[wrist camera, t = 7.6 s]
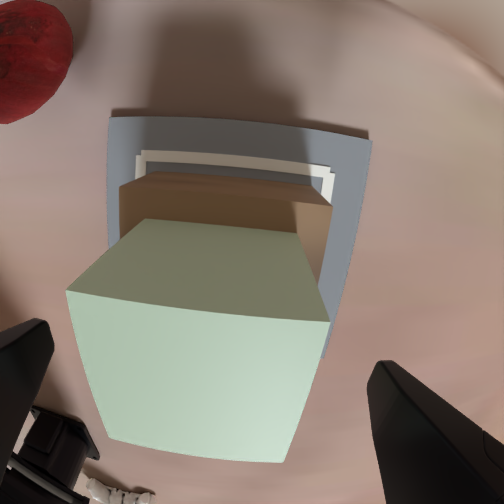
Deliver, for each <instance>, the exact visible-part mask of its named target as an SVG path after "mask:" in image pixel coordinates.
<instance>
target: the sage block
mask: <svg viewBox="0 0 504 504" xmlns="http://www.w3.org/2000/svg"><path fill="white" fill-rule="evenodd" d="M65 291H66V296H67V301H68V306H69V311H70V316H71V320H72V324H73V329H74V333H75V337H76V341H77V344H78V348H79V352H80V355H81V359H82V362H83V366H84V369H85V372H86V376H87V379H88V382H89V385H90V388H91V391H92V394H93V397H94V400H95V402H96V405H97V408H98V411H99V413H100V416H101V419H102V421H103V424H104V426H105V429H106V431H107V434H108V436H109V438H111V439H115V440H119V441H123V442H126V443H130V444H135V445H139V446H143V447H148V448H153V449H157V450H162V451H168V452H173V453H179V454H185V455H192V456H199V457H207V458H215V459H225V460H237V461H251V462H281V463H283V462H284V459H285V457H286V454H287V452H288V449H289V447H290V444H291V441H292V439H293V436H294V433H295V431H296V428H297V425H298V423H299V420H300V417H301V414H302V412H303V409H304V406H305V403H306V400H307V397H308V394H309V391H310V388H311V385H312V382H313V379H314V376H315V373H316V370H317V367H318V363H319V360H320V357H321V354H322V350H323V347H324V344H325V340H326V337H327V333H328V330H329V326H330V323H331V322H330V319H329V316H328V313H327V311H326V308H325V305H324V302H323V300H322V297H321V294H320V291H319V289H318V286H317V283H316V281H315V278H314V275H313V273H312V270H311V267H310V265H309V262H308V260H307V257H306V254H305V252H304V249H303V247H302V244H301V242H300V239H299V237H298V234H297V233H290V232H281V231H272V230H262V229H253V228H243V227H233V226H223V225H213V224H202V223H191V222H180V221H169V220H157V219H146V218H145V219H144V220H143V221H141V222H140V223H139V224H138V225H137V226H135V227H134V228H133V229H132V230H131V231H130V232H128V233H127V234H126V235H125V236H124V237H123V238H121V239H120V240H119V241H118V242H117V243H116V244H114V245H113V246H112V247H111V248H110V249H109V250H108V251H107V252H105V253H104V254H103V255H102V256H101V257H100V258H99V259H98V260H97V261H95V262H94V263H93V264H92V265H91V266H90V267H89V268H88V269H87V270H86V271H85V272H84V273H83V274H81V275H80V276H79V277H78V278H77V279H76V280H75V281H74V282H73V283H72V284H71V285H70V286H69V287H68V288H67V289H66V290H65Z"/></svg>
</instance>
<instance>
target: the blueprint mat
mask: <svg viewBox="0 0 504 504" xmlns="http://www.w3.org/2000/svg"><path fill="white" fill-rule="evenodd" d="M371 148H372V141H371V140H367V139H362V138H357V137H353V136H348V135H342V134H337V133H332V132H326V131H320V130H314V129H308V128H301V127H294V126H287V125H279V124H271V123H262V122H253V121H242V120H231V119H217V118H199V117H165V116H140V117H109V128H108V147H107V224H108V243H109V249H110V248H111V247H112V246H113V245H114V244H116V243H117V242H118V241H119V240H120V232H119V186H121V185H124V184H126V183H128V182H131V181H133V180H135V179H138V178H140V177H142V176H145V175H147V174H150V173H152V172H154V171H162V172H179V173H194V174H207V175H219V176H231V177H241V178H251V179H260V180H269V181H278V182H286V183H294V184H302V185H309V186H313V187H314V188H315V189H316V190H317V191H318V192H319V193H320V194H321V195H322V196H323V197H324V198H325V199H326V200H327V201H328V202H329V203H330V204H331V205H332V206H333V211H332V217H331V222H330V228H329V233H328V238H327V243H326V249H325V254H324V259H323V264H322V268H321V273H320V278H319V282H318V289H319V291H320V294H321V297H322V300H323V302H324V305H325V308H326V311H327V313H328V316H329V319H330V322H331V323H330V326H329V330H328V333H327V337H326V340H325V344H324V347H323V350H322V354H321V357H320V358H324V355H325V352H326V349H327V346H328V342H329V339H330V336H331V332H332V329H333V325H334V322H335V318H336V315H337V311H338V307H339V304H340V300H341V296H342V292H343V288H344V284H345V280H346V276H347V272H348V268H349V264H350V260H351V255H352V251H353V247H354V242H355V237H356V233H357V228H358V223H359V218H360V213H361V208H362V203H363V197H364V192H365V186H366V180H367V174H368V168H369V161H370V155H371Z"/></svg>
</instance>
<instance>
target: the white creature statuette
mask: <svg viewBox="0 0 504 504" xmlns="http://www.w3.org/2000/svg"><path fill="white" fill-rule="evenodd" d="M86 487H87V489H88V490H89V491H90V493H91V495H92V497H93V498H94V499H96V500H97V501H99V502H101V503H103V504H156V503H157V499H156V497H155V496H154V495H153V494H150V493H149V492H148V493H143V494H137V493H132V492H131V493H129V492H128V491H127V492H123V491H122V490H120V489H119V490H118V491H117V490H116V488H112V487H108V486H105V485H103V484H102V483H101V482H99V481H98V480H96V479H95V478H94V479H93V478H91V479H89V480H88V482H87V484H86ZM123 493H124V494H125V496H124V495H123ZM137 498H138V499H137Z"/></svg>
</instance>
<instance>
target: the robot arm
mask: <svg viewBox="0 0 504 504" xmlns="http://www.w3.org/2000/svg"><path fill="white" fill-rule="evenodd" d="M53 352H54V341H53V338H52V334H51V331H50V327H49V324H48V323H47V321H45V320H42V319H38V318H33V319H31V320H28V321H26V322H24V323H21V324H19V325H16V326H14V327H11V328H9V329H7V330H4V331H2V332H0V504H89V501H90V499H89V498H87V497H85V496H82V495H80V494H78V493H76V492H74V491H73V489H74V486H75V484H76V481H77V478H78V476H79V473H80V471H81V468H82V466H83V463H84V461H85V459H86V457H88V458H91V459H94V460H99V459H100V455H99V454H98V452H97V450H96V448H95V446H94V444H93V442H92V440H91V438H90V436H89V434H88V432H87V430H86V428H85V426H84V425H83V424H81V423H79V422H76V421H73V420H70V419H67V418H64V417H62V416H59V415H56V414H54V413H51V412H48V411H46V410H43V409H41V408H39V407H36V406H34V405H32V404H33V402H34V400H35V398H36V396H37V394H38V391H39V389H40V386H41V383H42V381H43V378H44V375H45V373H46V370H47V367H48V365H49V362H50V360H51V357H52V355H53ZM367 396H368V404H369V411H370V420H371V429H372V436H373V441H374V446H375V451H376V455H377V460H378V464H379V469H380V474H381V479H382V484H383V489H384V494H385V499H386V504H504V445H503V444H502V443H501V442H499V441H498V440H496V439H495V438H494V437H492V436H491V435H490V434H488V433H487V432H486V431H485V430H483V431H482V428H481V427H479V426H478V425H477V424H475V423H474V422H473V421H471V420H470V419H469V418H467V417H466V416H465V415H463V414H462V413H461V412H460V411H458V410H457V409H456V408H454V407H453V406H452V405H450V404H449V403H448V402H446V401H445V400H444V399H443V398H441V397H440V396H439V395H437V394H436V393H435V392H433V391H432V390H431V389H429V388H428V387H427V386H425V385H424V384H423V383H422V382H420V381H419V380H418V379H416V378H415V377H414V376H412V375H411V374H410V373H408V372H407V371H406V370H405V369H403V368H402V367H401V366H399V365H398V364H397V363H395V362H394V361H392V360H380V361H378V362H377V363H376V365H375V367H374V369H373V372H372V374H371V376H370V378H369V380H368V383H367ZM29 411H31V413H32V415H33V417H34V418H35V421H34V423H33V425H32V426H31V428H30V430H29V432H28V433H27V435H26V437H25V439H24V443H23V445H22V447H21V449H20V451H19V453H18V454H16V453H14V452H13V449H14V446H15V444H16V441H17V439H18V436H19V434H20V431H21V429H22V427H23V424H24V422H25V420H26V418H27V415H28V413H29ZM7 464H8V465H9V466H10V467H12V469H11V470H10V469H8V468H7Z"/></svg>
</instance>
